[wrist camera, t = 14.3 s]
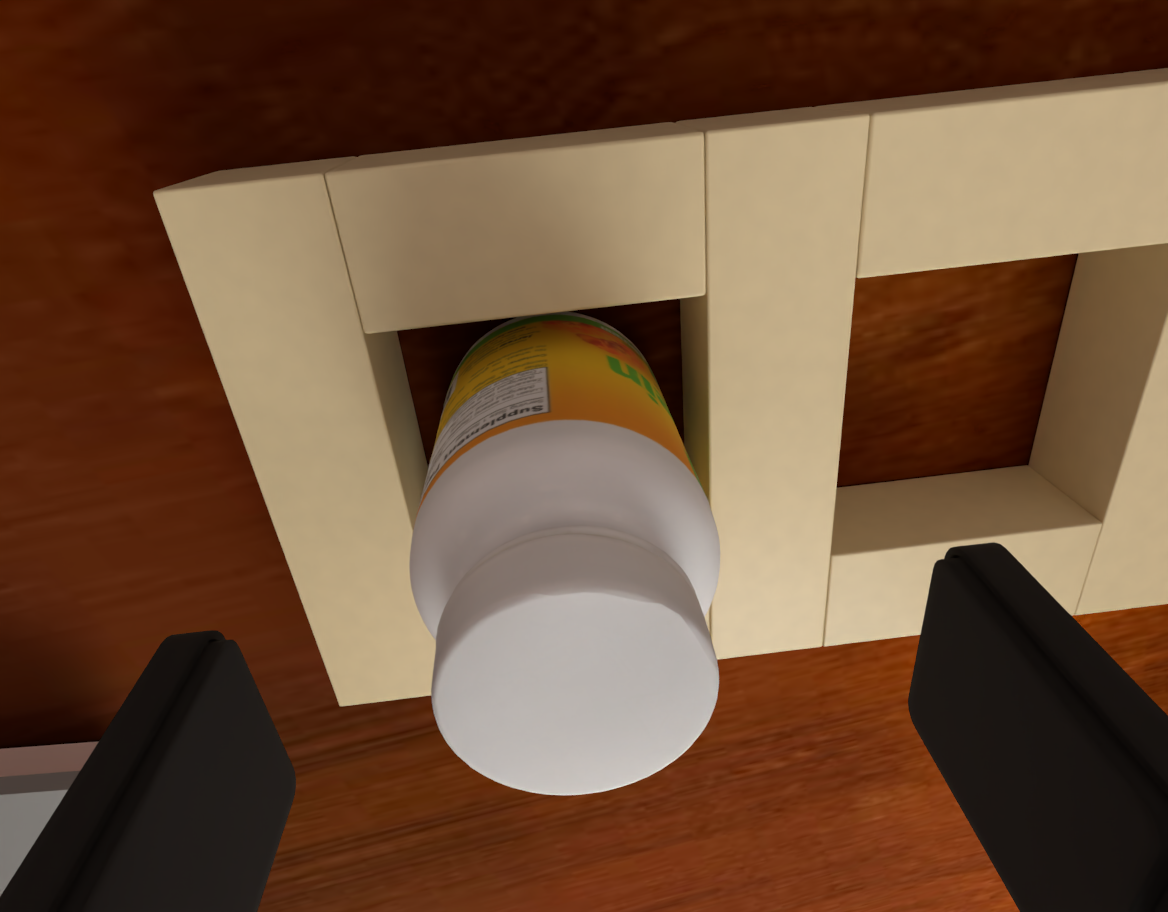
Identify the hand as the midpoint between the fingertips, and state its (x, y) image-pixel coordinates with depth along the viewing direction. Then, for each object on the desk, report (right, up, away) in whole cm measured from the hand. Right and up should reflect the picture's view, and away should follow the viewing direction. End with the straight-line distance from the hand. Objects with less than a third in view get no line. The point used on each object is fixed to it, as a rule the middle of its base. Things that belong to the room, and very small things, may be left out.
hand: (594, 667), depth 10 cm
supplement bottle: (-1, +4, +9) cm, 10 cm away
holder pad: (+4, +5, +9) cm, 10 cm away
